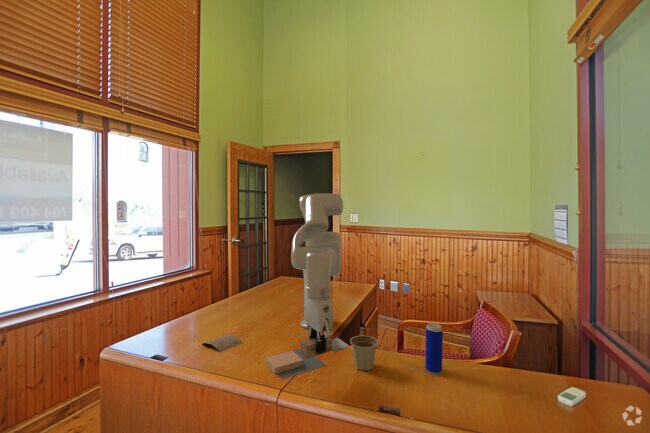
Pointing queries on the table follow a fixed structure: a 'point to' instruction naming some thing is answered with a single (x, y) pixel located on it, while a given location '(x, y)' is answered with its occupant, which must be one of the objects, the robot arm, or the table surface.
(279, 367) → the tile
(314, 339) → the brown piece
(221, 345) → the clay tablet
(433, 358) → the beverage can
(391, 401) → the table surface
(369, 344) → the flower pot
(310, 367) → the mat
